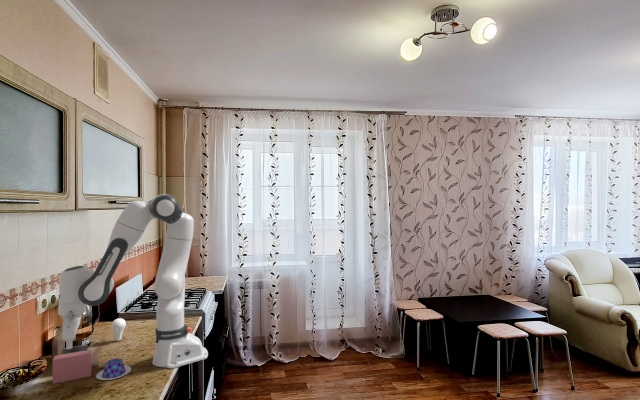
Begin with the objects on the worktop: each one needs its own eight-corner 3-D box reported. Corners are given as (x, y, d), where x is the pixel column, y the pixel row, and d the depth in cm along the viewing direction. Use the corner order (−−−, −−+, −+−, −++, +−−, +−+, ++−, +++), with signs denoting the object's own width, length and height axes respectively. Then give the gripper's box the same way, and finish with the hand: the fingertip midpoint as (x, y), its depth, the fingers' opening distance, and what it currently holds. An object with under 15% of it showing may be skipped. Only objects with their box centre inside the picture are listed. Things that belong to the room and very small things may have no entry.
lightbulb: (109, 343, 170) (109, 321, 170) (113, 339, 176) (113, 317, 176) (123, 342, 171) (123, 319, 172) (127, 338, 177) (127, 316, 177)
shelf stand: (101, 348, 165) (101, 320, 165) (98, 366, 146) (98, 335, 146) (59, 355, 157) (59, 326, 157) (50, 376, 138) (50, 342, 138)
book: (91, 372, 141) (91, 349, 141) (90, 376, 138) (90, 353, 138) (54, 379, 135) (54, 356, 135) (52, 384, 132) (52, 360, 132)
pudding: (96, 385, 131) (96, 370, 131) (95, 372, 141) (95, 359, 141) (132, 376, 138) (132, 362, 138) (129, 364, 148) (129, 352, 148)
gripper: (79, 314, 129) (77, 352, 129) (84, 301, 147) (83, 334, 147) (57, 316, 126) (56, 355, 126) (66, 302, 144) (65, 336, 144)
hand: (71, 344), depth 136 cm, fingers open, 8 cm apart
